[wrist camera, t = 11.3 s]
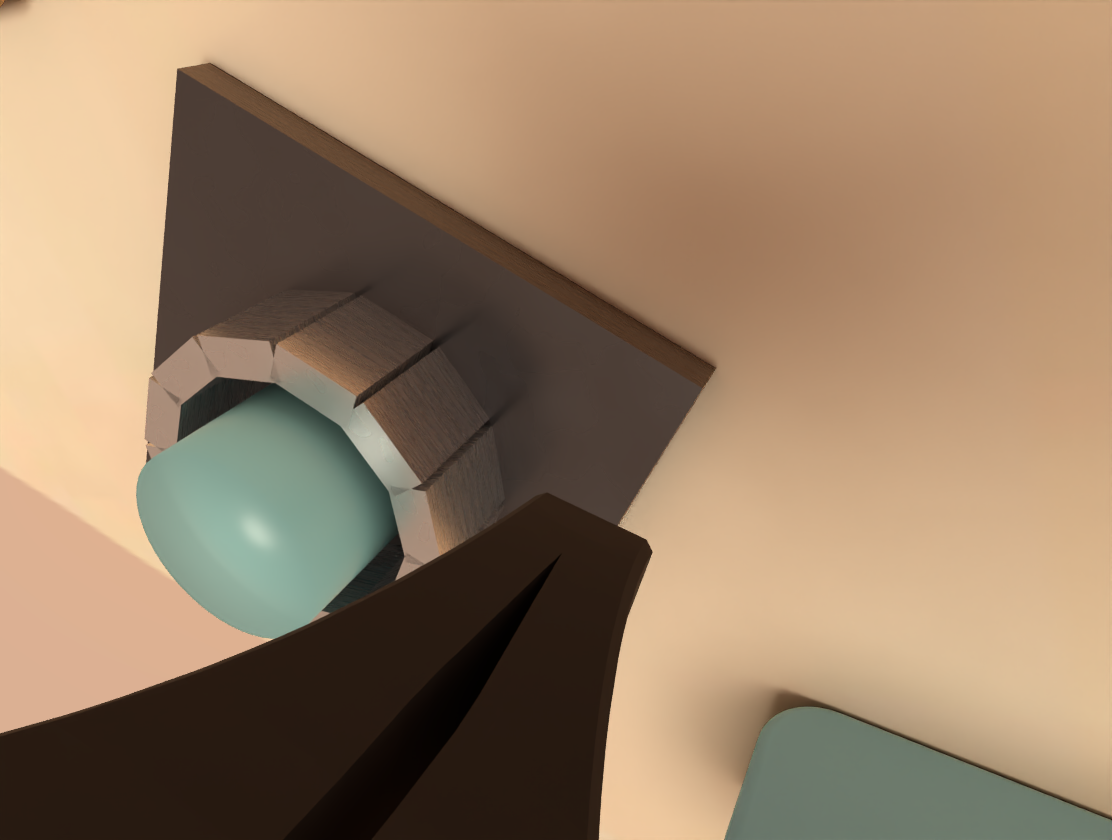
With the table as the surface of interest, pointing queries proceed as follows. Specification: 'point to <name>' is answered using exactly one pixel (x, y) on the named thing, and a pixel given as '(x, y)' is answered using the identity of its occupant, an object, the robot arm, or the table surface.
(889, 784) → the data package
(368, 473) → the teal rounded cylinder
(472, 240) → the square base ring holder
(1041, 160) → the table surface
